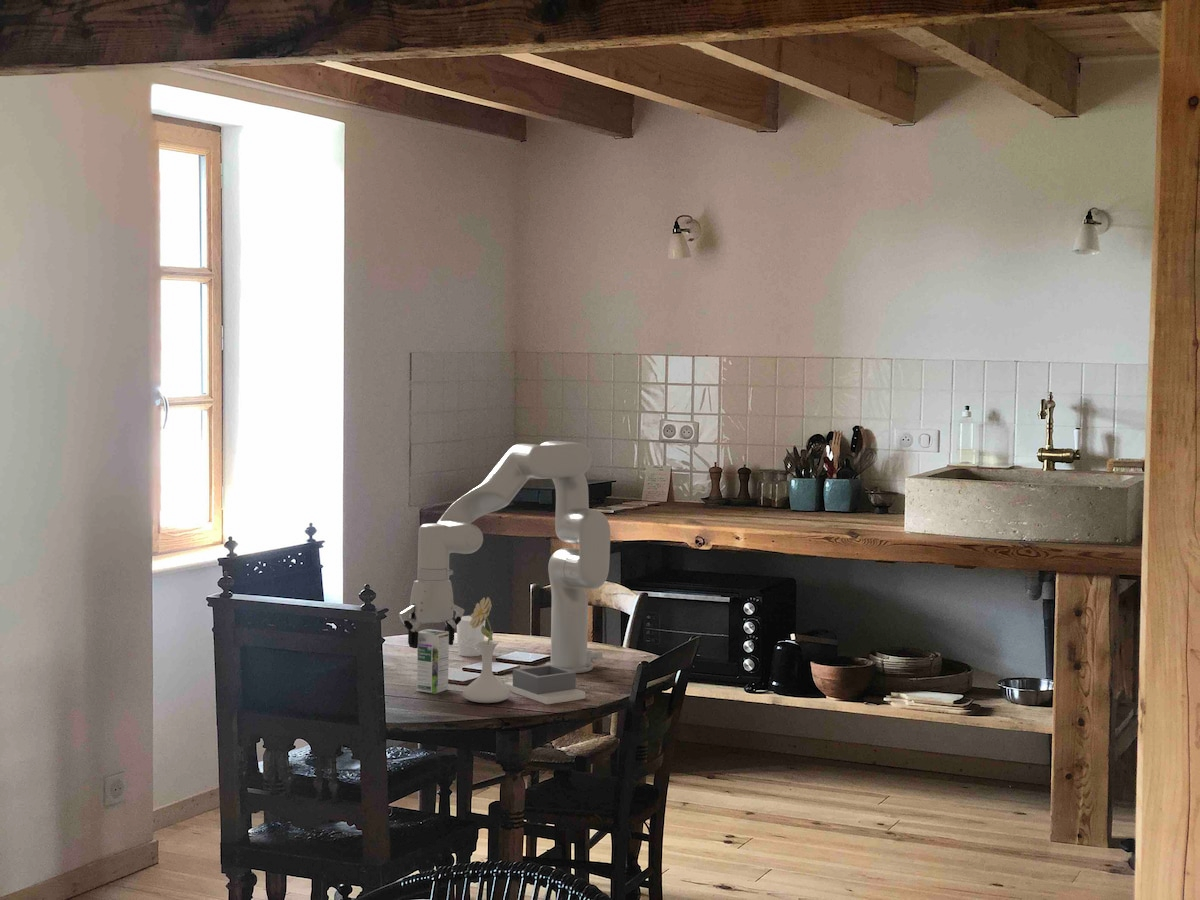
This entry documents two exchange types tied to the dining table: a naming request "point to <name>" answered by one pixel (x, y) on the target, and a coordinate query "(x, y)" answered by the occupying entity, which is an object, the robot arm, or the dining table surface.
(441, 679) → the syrup box
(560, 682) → the socket caddy
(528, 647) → the dining table surface
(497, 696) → the flower in vase
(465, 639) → the white cup
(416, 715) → the dining table surface
